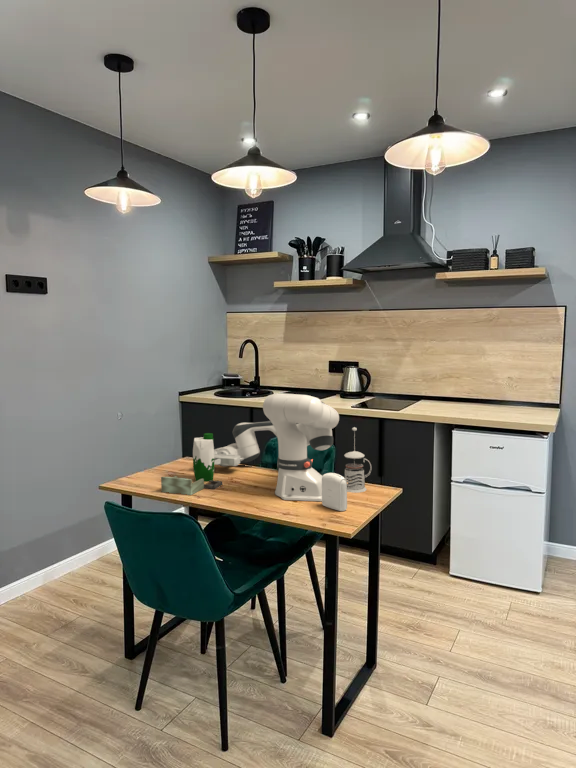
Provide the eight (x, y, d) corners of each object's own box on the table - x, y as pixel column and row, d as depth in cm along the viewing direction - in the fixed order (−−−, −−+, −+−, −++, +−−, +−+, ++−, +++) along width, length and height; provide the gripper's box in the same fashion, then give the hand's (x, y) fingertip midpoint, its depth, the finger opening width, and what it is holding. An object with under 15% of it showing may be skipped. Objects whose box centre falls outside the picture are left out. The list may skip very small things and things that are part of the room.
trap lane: (222, 485, 219) (222, 470, 219) (201, 496, 203) (201, 481, 203) (174, 480, 227) (174, 466, 227) (151, 490, 211) (151, 476, 211)
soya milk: (215, 481, 224) (214, 435, 223) (193, 483, 223) (192, 436, 221) (214, 476, 233) (213, 431, 231) (193, 477, 231) (192, 432, 230)
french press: (341, 485, 216) (340, 425, 214) (369, 485, 216) (369, 425, 214) (343, 492, 206) (343, 429, 205) (373, 492, 206) (373, 429, 204)
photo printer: (320, 505, 190) (319, 471, 189) (328, 503, 193) (328, 470, 192) (340, 512, 182) (340, 477, 181) (349, 510, 185) (349, 475, 184)
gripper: (245, 464, 243) (231, 471, 230) (206, 461, 251) (191, 468, 238) (245, 451, 243) (231, 457, 230) (206, 448, 250) (190, 454, 237)
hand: (210, 463), depth 234 cm, fingers closed
